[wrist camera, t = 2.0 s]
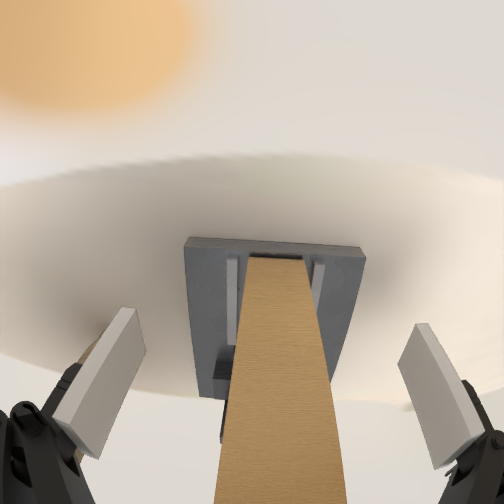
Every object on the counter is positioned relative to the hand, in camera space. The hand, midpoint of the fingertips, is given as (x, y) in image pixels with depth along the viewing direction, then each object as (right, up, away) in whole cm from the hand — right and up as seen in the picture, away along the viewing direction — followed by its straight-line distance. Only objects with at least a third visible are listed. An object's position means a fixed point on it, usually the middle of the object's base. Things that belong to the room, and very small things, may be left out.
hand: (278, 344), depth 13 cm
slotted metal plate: (0, -2, +9) cm, 9 cm away
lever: (0, +2, +5) cm, 5 cm away
